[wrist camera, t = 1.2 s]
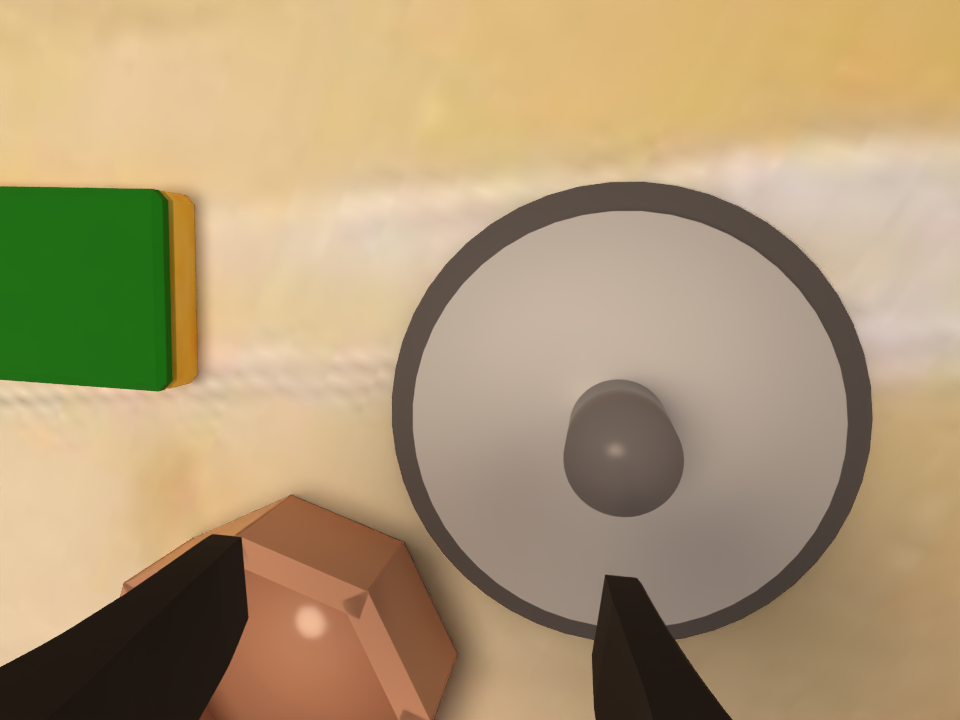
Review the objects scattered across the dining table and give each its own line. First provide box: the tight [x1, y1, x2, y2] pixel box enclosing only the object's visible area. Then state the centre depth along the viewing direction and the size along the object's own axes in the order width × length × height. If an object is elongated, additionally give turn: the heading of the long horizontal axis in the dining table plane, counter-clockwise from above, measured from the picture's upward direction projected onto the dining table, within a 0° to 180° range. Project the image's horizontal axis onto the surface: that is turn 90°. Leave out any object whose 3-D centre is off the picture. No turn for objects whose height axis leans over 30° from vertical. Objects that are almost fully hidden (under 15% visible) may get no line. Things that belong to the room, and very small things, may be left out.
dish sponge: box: [0, 186, 198, 391], centre depth 26 cm, size 7×14×2 cm, turn 88°
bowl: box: [120, 495, 457, 720], centre depth 24 cm, size 12×12×4 cm
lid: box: [413, 211, 848, 625], centre depth 20 cm, size 14×14×5 cm
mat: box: [392, 182, 872, 640], centre depth 23 cm, size 16×16×1 cm
